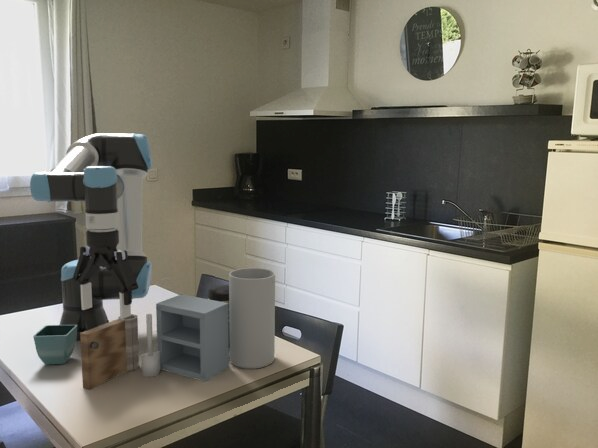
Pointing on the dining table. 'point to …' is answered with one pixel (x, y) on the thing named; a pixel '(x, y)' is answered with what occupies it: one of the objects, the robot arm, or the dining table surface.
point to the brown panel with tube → (109, 351)
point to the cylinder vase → (252, 317)
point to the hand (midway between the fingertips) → (105, 312)
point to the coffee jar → (220, 296)
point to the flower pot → (55, 343)
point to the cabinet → (188, 338)
